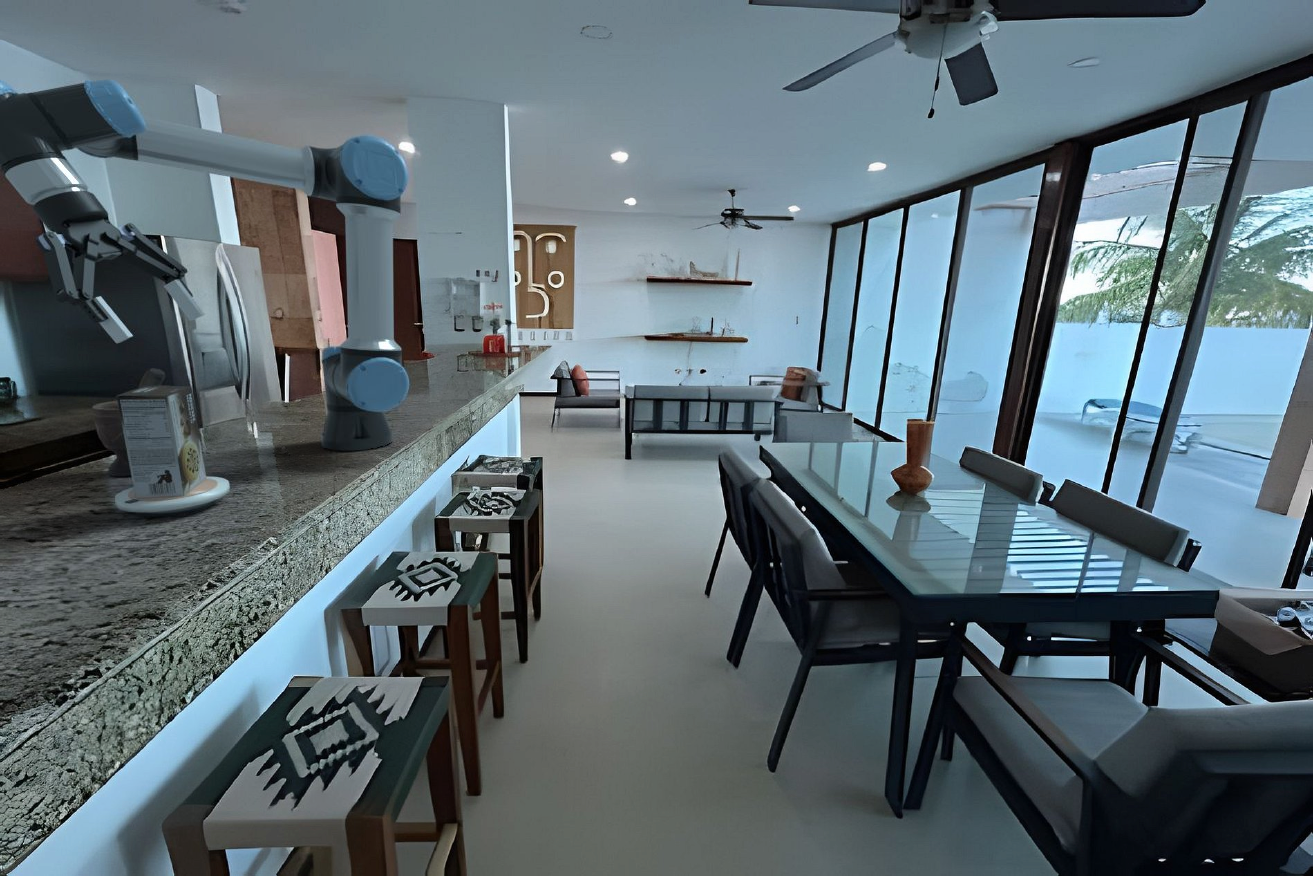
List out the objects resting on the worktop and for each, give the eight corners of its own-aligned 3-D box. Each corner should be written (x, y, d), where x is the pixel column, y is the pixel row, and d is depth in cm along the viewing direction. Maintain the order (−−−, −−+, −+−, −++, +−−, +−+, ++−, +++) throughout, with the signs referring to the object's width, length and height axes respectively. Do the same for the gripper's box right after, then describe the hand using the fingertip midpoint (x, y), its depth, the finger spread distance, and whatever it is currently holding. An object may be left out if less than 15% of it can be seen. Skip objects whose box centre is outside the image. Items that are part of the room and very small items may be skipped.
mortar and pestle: (192, 463, 113) (176, 364, 108) (176, 475, 105) (159, 369, 100) (117, 467, 108) (98, 364, 103) (95, 480, 100) (73, 369, 96)
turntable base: (184, 493, 96) (183, 485, 96) (231, 500, 94) (230, 491, 94) (118, 513, 87) (116, 504, 86) (169, 521, 85) (168, 512, 84)
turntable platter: (185, 479, 98) (184, 471, 98) (250, 488, 95) (249, 480, 95) (91, 505, 85) (89, 497, 84) (164, 517, 82) (162, 508, 82)
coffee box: (160, 481, 92) (144, 385, 89) (207, 478, 95) (193, 384, 91) (132, 499, 84) (113, 394, 80) (185, 496, 86) (168, 393, 83)
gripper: (122, 203, 95) (208, 317, 103) (-57, 215, 73) (70, 359, 81) (153, 184, 93) (237, 302, 102) (-21, 191, 71) (105, 341, 79)
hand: (163, 328), depth 91 cm, fingers open, 13 cm apart
